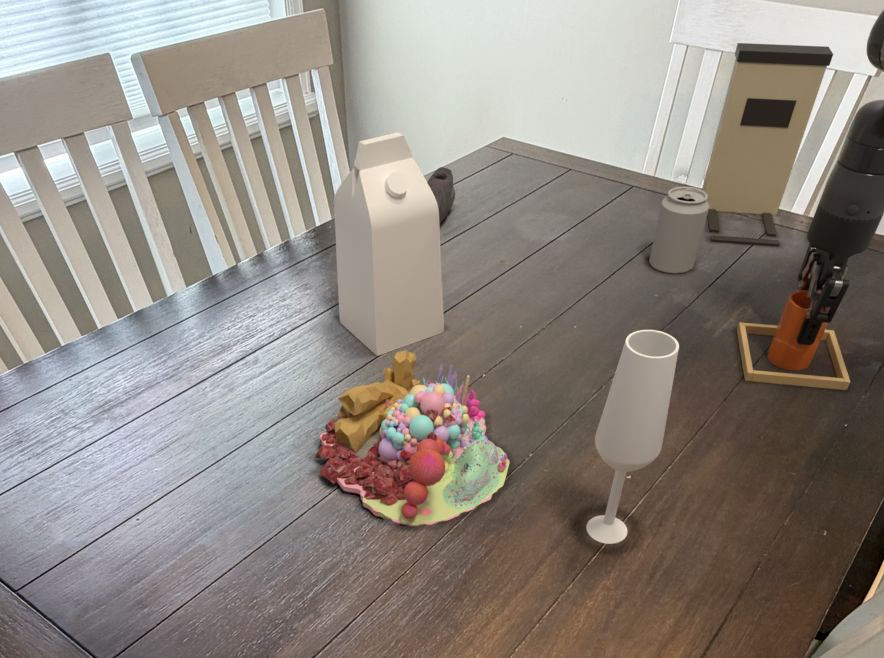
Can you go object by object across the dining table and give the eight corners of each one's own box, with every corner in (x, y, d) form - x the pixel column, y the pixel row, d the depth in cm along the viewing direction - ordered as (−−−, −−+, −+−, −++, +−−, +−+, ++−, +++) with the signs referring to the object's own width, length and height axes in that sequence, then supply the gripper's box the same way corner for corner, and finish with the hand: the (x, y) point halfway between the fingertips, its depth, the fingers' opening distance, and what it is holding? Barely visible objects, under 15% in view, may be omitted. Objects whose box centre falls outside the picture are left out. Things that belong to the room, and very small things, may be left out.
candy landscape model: (282, 462, 92) (269, 399, 85) (404, 379, 104) (402, 319, 97) (434, 552, 82) (433, 490, 75) (551, 450, 94) (560, 388, 87)
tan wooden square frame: (828, 342, 110) (834, 330, 108) (844, 394, 101) (850, 381, 100) (735, 334, 111) (739, 322, 110) (743, 385, 103) (747, 372, 101)
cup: (806, 350, 107) (831, 291, 100) (812, 373, 104) (839, 313, 97) (764, 346, 108) (786, 288, 101) (769, 369, 104) (792, 309, 97)
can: (643, 273, 124) (660, 198, 115) (652, 254, 128) (668, 180, 119) (688, 281, 122) (708, 205, 113) (695, 261, 126) (715, 187, 117)
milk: (404, 300, 118) (398, 116, 98) (444, 332, 112) (445, 142, 92) (339, 322, 114) (318, 134, 94) (376, 356, 108) (363, 162, 88)
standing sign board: (774, 209, 140) (828, 46, 120) (786, 251, 129) (848, 79, 109) (696, 204, 142) (737, 42, 122) (701, 245, 131) (747, 74, 111)
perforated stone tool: (438, 239, 133) (438, 198, 127) (410, 235, 134) (409, 195, 128) (459, 205, 142) (459, 166, 137) (433, 202, 143) (432, 163, 138)
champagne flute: (647, 533, 84) (705, 343, 65) (612, 564, 81) (663, 373, 62) (599, 505, 87) (642, 316, 69) (564, 533, 84) (599, 344, 65)
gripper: (898, 232, 84) (837, 361, 97) (872, 183, 94) (820, 307, 106) (830, 227, 85) (778, 356, 98) (811, 179, 94) (767, 303, 107)
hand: (800, 330), depth 102 cm, fingers closed on cup, 6 cm apart
